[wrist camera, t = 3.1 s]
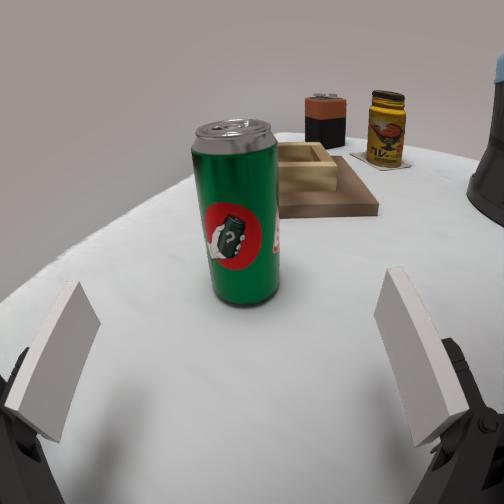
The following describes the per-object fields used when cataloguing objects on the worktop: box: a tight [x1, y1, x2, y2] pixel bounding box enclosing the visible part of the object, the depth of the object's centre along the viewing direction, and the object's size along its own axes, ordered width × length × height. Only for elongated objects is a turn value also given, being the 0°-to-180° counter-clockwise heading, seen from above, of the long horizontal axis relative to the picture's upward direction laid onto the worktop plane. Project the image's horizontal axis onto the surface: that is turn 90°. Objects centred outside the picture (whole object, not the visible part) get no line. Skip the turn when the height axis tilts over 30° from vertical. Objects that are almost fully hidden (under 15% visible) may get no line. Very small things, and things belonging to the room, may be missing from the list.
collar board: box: [278, 142, 379, 218], centre depth 37 cm, size 18×16×4 cm
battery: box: [305, 93, 346, 149], centre depth 50 cm, size 4×7×10 cm, turn 122°
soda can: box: [191, 119, 280, 305], centre depth 20 cm, size 5×5×12 cm
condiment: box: [351, 90, 411, 170], centre depth 43 cm, size 7×8×12 cm
